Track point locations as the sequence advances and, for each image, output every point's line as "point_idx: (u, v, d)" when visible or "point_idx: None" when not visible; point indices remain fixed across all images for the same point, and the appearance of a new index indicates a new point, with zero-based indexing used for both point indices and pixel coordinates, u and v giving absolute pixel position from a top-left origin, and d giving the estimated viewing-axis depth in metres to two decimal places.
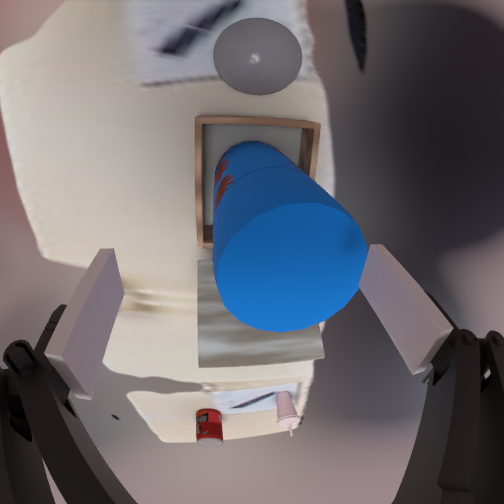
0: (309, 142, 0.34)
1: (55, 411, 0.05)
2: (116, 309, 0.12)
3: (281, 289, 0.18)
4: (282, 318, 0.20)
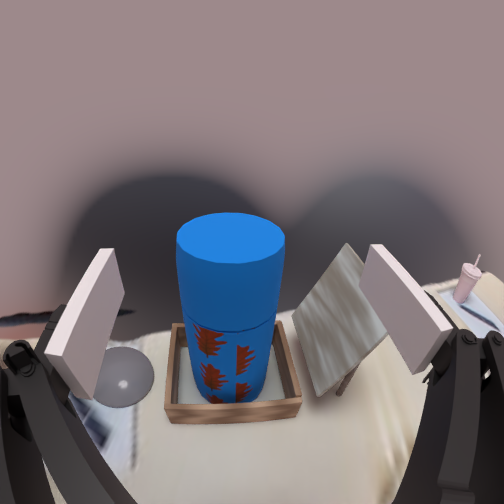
0: None
1: (55, 411, 0.05)
2: (116, 309, 0.12)
3: (241, 238, 0.26)
4: (269, 236, 0.27)
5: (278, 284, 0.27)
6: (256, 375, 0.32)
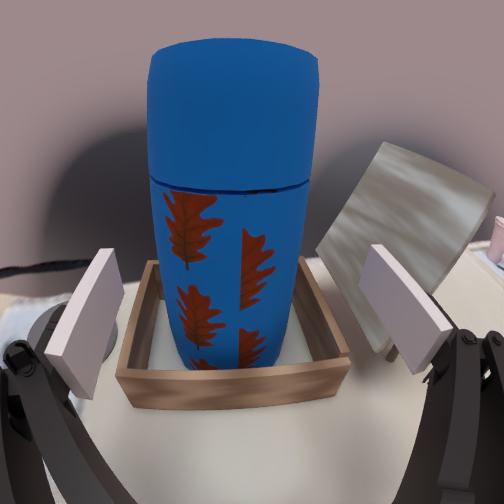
0: None
1: (55, 411, 0.05)
2: (116, 309, 0.12)
3: None
4: None
5: (313, 120, 0.14)
6: (274, 317, 0.20)
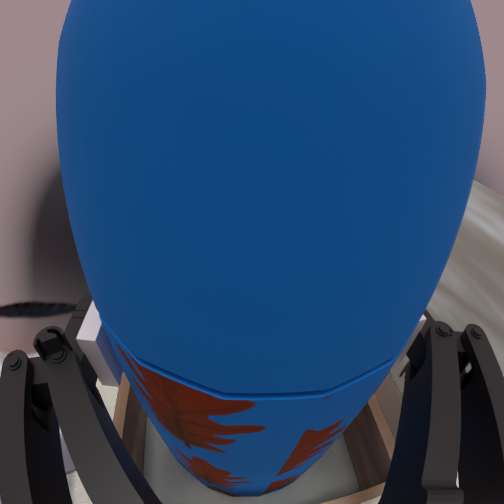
0: None
1: (85, 400, 0.05)
2: None
3: None
4: None
5: None
6: None
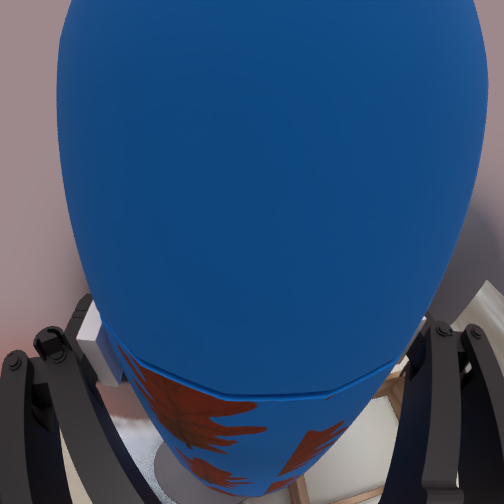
0: None
1: (85, 400, 0.05)
2: None
3: None
4: None
5: None
6: None
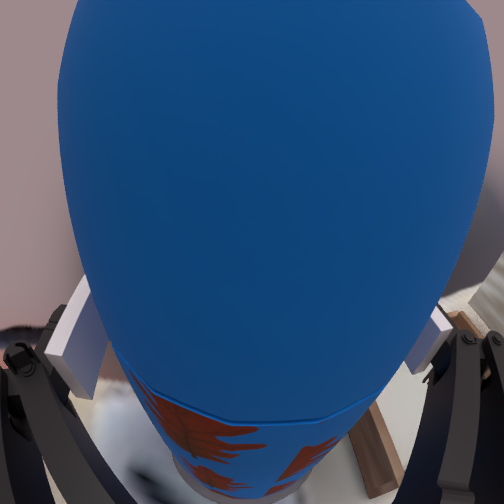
0: None
1: (55, 411, 0.05)
2: None
3: None
4: None
5: None
6: None
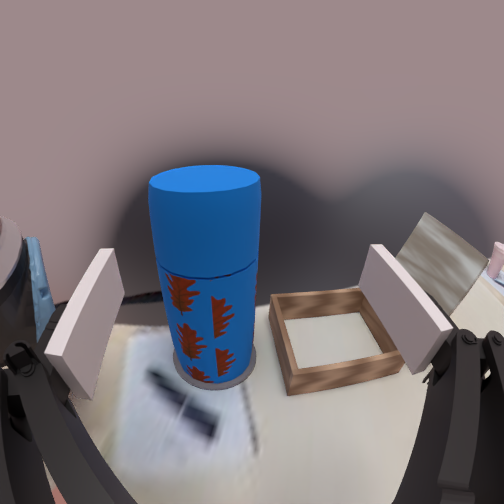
0: (288, 303, 0.43)
1: (55, 411, 0.05)
2: (116, 309, 0.12)
3: (213, 178, 0.24)
4: (243, 176, 0.25)
5: (254, 226, 0.25)
6: (238, 341, 0.30)
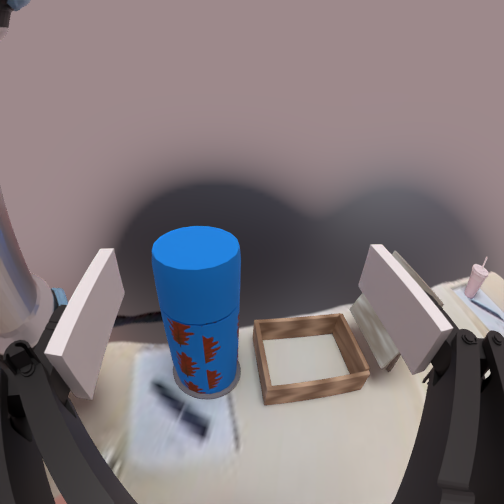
0: (269, 327, 0.51)
1: (55, 411, 0.05)
2: (116, 309, 0.12)
3: (202, 248, 0.32)
4: (226, 246, 0.32)
5: (234, 286, 0.32)
6: (224, 364, 0.38)
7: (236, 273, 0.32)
